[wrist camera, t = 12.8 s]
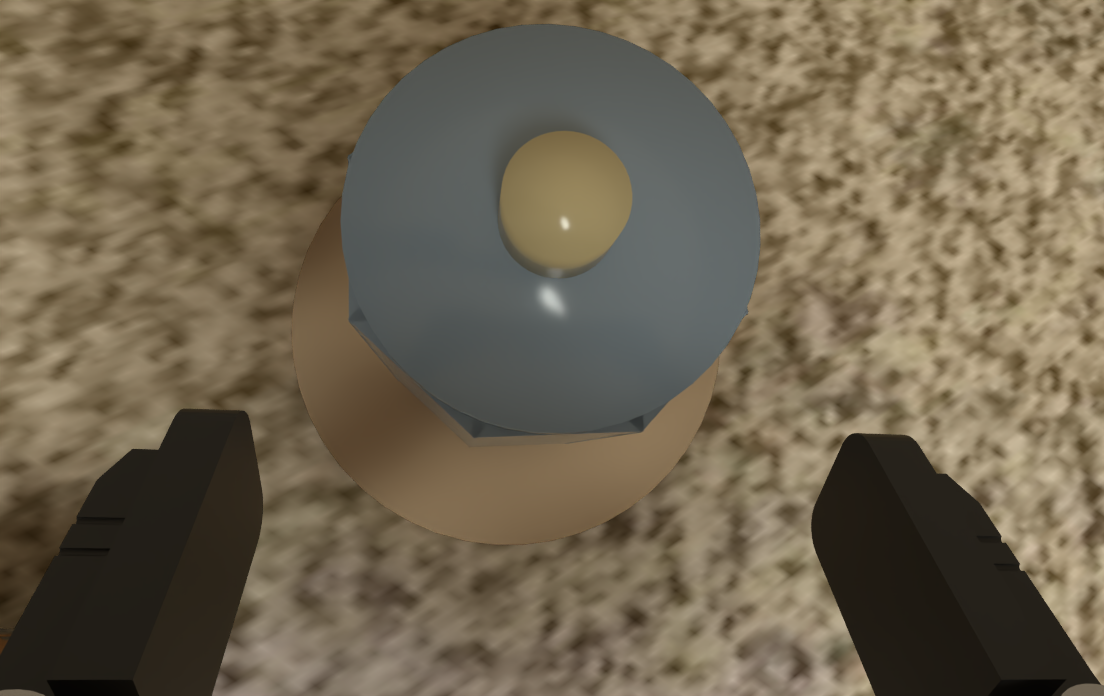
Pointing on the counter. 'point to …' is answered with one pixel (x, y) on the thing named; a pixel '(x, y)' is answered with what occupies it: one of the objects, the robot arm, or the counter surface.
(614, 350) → the octagonal knobbed canister
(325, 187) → the counter surface
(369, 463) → the trivet
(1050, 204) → the counter surface
